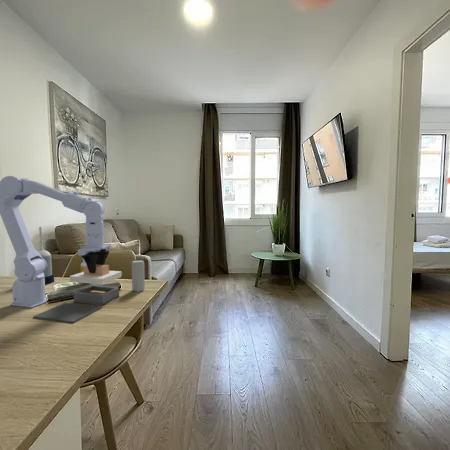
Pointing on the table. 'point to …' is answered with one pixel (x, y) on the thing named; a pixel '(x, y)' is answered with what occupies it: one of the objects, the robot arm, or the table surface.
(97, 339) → the table surface
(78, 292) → the storage box
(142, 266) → the beverage can
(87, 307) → the mat
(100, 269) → the lid
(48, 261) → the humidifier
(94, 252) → the robot arm
